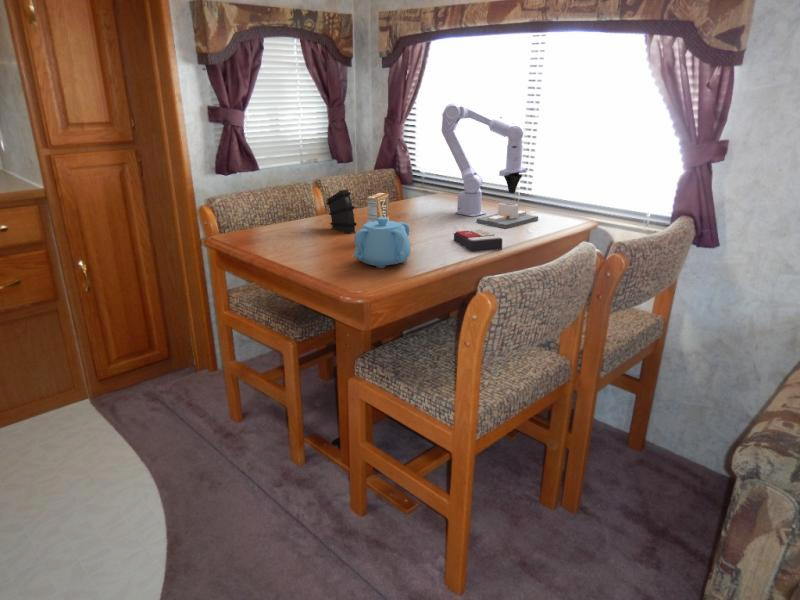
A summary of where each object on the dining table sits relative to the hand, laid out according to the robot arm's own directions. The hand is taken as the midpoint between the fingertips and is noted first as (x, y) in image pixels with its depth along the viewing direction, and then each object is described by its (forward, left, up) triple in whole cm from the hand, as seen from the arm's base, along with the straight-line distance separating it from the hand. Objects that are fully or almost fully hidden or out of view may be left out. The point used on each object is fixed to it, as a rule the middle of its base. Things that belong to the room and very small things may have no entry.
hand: (511, 192), depth 225 cm
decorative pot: (+13, -78, -10) cm, 80 cm away
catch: (+5, -8, -8) cm, 13 cm away
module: (+5, -8, -8) cm, 12 cm away
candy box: (-8, -62, -10) cm, 64 cm away
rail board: (+5, -8, -9) cm, 14 cm away
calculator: (+19, -42, -10) cm, 48 cm away
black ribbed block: (-28, -63, -10) cm, 70 cm away
